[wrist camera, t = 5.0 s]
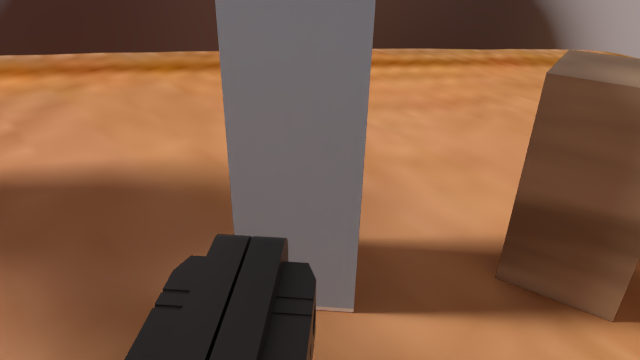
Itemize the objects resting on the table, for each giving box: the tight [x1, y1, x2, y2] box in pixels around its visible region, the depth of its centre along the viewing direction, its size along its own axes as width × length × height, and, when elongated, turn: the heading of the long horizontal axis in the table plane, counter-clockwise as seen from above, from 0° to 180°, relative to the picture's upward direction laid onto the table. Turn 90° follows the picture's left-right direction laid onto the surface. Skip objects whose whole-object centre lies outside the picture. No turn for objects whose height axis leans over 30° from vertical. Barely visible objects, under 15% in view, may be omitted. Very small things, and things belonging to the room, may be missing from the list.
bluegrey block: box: [215, 0, 375, 312], centre depth 19 cm, size 5×5×18 cm
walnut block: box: [496, 50, 640, 322], centre depth 21 cm, size 5×5×10 cm
